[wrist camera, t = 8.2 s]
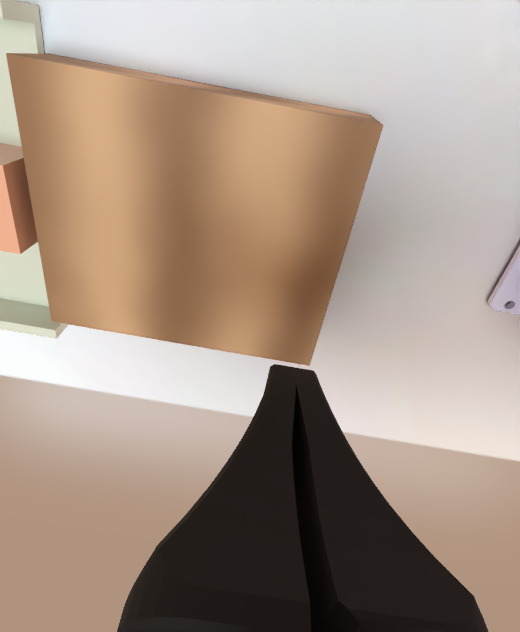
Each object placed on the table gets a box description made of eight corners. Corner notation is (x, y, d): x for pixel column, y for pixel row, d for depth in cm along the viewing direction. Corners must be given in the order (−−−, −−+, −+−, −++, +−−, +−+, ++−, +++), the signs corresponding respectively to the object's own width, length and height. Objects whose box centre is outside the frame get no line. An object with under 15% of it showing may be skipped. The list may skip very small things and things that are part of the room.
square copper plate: (370, 115, 17) (383, 125, 15) (307, 333, 24) (309, 365, 21) (49, 54, 17) (5, 53, 14) (77, 293, 23) (51, 321, 21)
